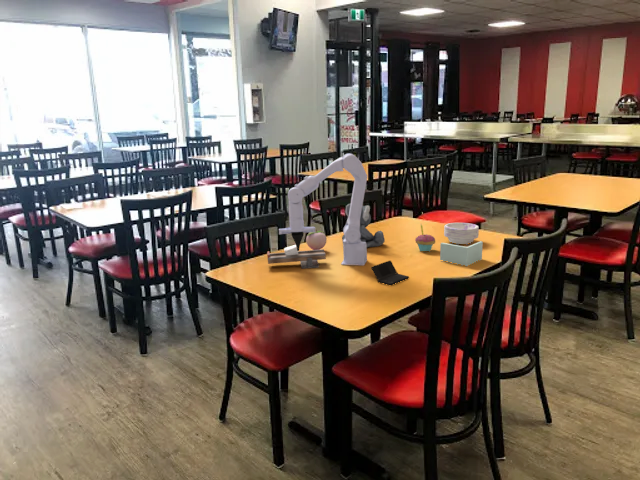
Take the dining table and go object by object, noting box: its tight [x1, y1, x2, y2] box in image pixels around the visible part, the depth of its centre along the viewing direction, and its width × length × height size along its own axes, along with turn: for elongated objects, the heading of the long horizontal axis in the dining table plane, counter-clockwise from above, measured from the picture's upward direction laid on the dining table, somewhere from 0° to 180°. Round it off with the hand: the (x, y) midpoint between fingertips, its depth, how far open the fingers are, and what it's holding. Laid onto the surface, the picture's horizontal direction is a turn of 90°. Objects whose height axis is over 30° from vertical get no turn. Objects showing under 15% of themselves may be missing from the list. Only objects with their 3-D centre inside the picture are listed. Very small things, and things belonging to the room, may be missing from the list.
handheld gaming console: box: [371, 260, 410, 286], centre depth 189 cm, size 12×7×10 cm
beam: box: [266, 248, 327, 265], centre depth 210 cm, size 23×7×4 cm, turn 95°
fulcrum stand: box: [299, 258, 320, 270], centre depth 211 cm, size 7×10×4 cm
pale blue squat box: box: [439, 240, 483, 267], centre depth 208 cm, size 12×12×8 cm
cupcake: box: [414, 224, 436, 252], centre depth 223 cm, size 9×8×12 cm
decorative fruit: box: [305, 229, 328, 250], centre depth 229 cm, size 9×8×10 cm
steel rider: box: [283, 244, 298, 256], centre depth 209 cm, size 5×4×3 cm
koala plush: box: [341, 203, 385, 248], centre depth 236 cm, size 17×18×20 cm
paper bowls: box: [443, 222, 480, 245], centre depth 235 cm, size 15×15×8 cm
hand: (298, 250), depth 209 cm, fingers closed, pressing on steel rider
